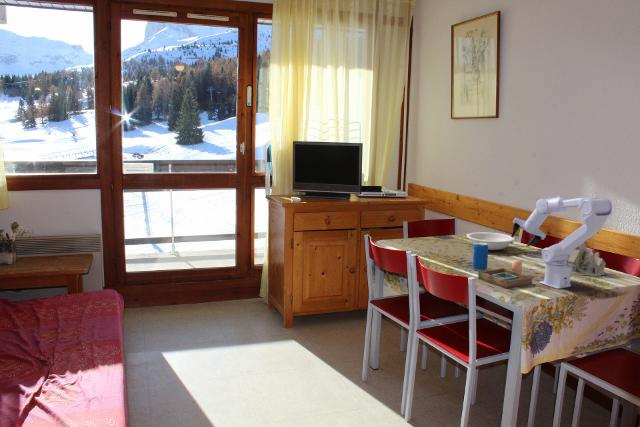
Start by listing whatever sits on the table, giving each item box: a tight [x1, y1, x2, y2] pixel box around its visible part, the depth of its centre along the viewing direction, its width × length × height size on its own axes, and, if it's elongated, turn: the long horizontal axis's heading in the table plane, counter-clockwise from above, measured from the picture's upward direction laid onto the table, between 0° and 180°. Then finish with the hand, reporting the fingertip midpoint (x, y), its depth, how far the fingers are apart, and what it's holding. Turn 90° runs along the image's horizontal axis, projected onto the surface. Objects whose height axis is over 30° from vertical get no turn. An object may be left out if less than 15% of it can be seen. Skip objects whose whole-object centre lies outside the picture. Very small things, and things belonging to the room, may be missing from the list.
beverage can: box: [471, 242, 489, 272], centre depth 249 cm, size 6×6×12 cm
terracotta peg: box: [511, 259, 523, 274], centre depth 242 cm, size 4×4×6 cm
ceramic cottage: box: [565, 242, 607, 277], centre depth 245 cm, size 16×16×15 cm
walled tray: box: [477, 267, 533, 290], centre depth 231 cm, size 16×14×3 cm
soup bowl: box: [466, 231, 516, 251], centre depth 290 cm, size 24×24×7 cm
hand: (520, 240), depth 245 cm, fingers open, 7 cm apart
